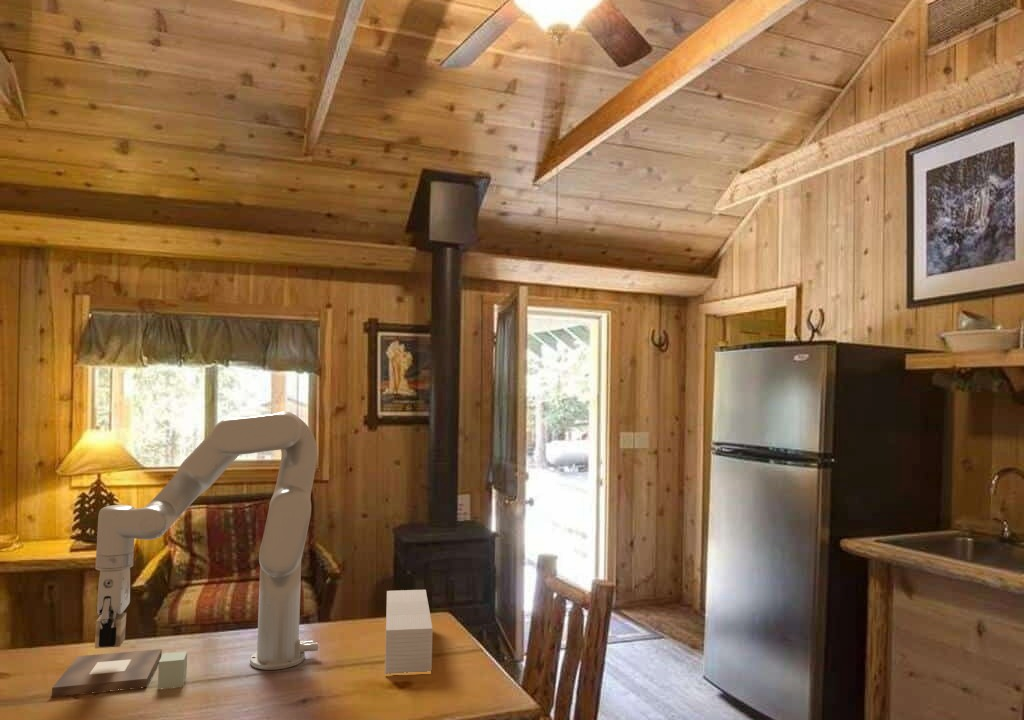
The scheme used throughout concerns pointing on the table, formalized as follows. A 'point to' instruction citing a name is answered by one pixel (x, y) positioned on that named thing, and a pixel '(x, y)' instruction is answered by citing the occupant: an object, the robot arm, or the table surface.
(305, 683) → the table surface
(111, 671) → the walnut board
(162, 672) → the sage block
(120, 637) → the maple block
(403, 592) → the stack of papers
